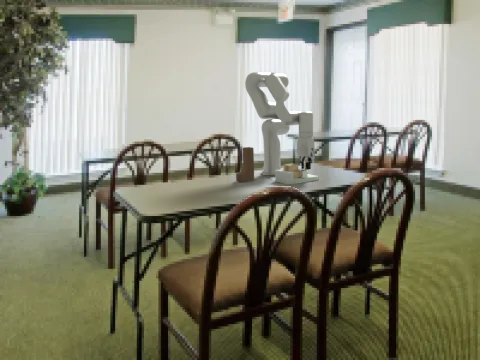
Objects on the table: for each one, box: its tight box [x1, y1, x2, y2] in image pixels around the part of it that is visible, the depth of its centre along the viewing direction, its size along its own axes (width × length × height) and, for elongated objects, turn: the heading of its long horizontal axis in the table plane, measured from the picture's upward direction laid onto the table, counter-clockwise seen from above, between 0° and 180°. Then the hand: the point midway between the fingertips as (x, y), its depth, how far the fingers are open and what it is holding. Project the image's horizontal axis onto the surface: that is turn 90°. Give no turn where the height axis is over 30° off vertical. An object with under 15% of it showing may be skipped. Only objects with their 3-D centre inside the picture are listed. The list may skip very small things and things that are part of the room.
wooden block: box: [235, 146, 255, 183], centre depth 262 cm, size 9×4×18 cm, turn 120°
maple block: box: [282, 163, 299, 178], centre depth 258 cm, size 5×6×7 cm
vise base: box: [274, 169, 320, 185], centre depth 261 cm, size 12×20×6 cm, turn 122°
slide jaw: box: [298, 159, 310, 178], centre depth 262 cm, size 12×9×9 cm
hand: (306, 168), depth 263 cm, fingers closed on slide jaw, 2 cm apart
